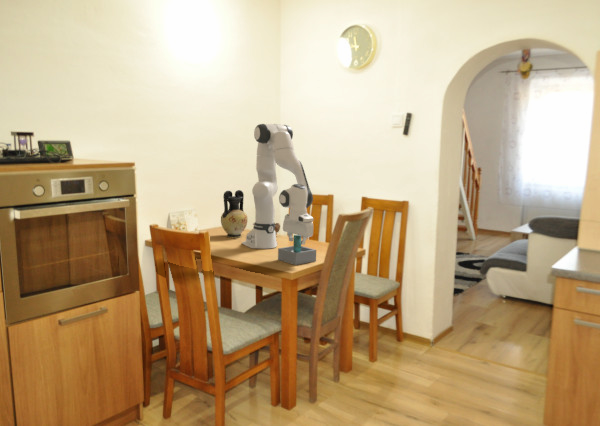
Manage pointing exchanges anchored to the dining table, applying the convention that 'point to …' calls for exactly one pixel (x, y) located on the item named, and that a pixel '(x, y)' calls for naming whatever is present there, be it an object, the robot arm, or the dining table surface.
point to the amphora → (234, 214)
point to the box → (297, 255)
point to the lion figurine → (277, 228)
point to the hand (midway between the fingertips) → (296, 242)
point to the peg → (297, 243)
